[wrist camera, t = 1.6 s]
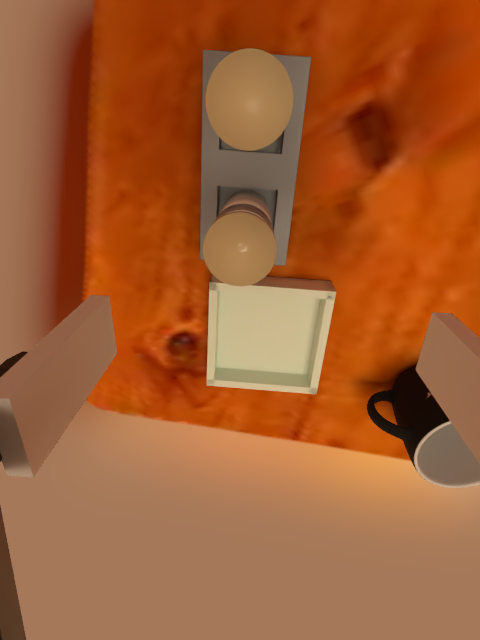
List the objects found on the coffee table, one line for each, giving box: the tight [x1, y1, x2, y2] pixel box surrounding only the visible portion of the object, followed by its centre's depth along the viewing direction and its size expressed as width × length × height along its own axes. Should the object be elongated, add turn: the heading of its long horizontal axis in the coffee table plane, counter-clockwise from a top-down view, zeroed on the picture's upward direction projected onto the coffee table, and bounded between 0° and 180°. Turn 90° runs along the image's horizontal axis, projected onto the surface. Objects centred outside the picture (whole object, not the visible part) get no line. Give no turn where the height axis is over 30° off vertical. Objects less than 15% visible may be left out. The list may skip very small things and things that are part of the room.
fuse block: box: [200, 48, 311, 266], centre depth 27 cm, size 16×8×13 cm, turn 176°
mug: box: [367, 366, 480, 488], centre depth 37 cm, size 12×9×10 cm
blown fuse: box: [203, 190, 277, 286], centre depth 28 cm, size 5×5×13 cm
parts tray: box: [207, 274, 336, 394], centre depth 38 cm, size 12×12×3 cm
